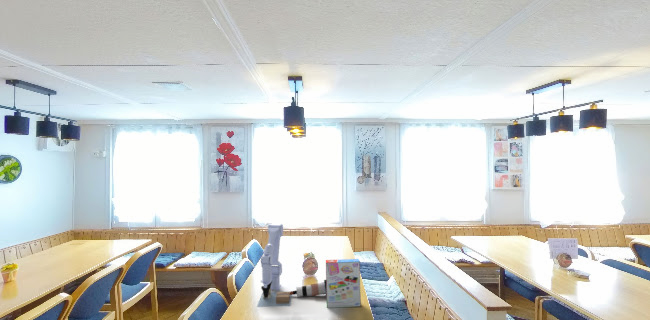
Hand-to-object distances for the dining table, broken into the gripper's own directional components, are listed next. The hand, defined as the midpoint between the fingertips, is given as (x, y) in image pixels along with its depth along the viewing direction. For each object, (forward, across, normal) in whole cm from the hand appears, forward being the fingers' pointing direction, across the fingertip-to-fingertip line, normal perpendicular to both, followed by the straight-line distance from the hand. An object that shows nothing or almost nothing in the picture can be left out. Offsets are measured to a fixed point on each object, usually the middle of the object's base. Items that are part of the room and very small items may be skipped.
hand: (267, 295), depth 211 cm
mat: (+2, +4, +6) cm, 7 cm away
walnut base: (+1, +7, +11) cm, 13 cm away
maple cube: (+1, 0, 0) cm, 1 cm away
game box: (+2, +15, +48) cm, 50 cm away
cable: (+2, 0, +31) cm, 31 cm away
